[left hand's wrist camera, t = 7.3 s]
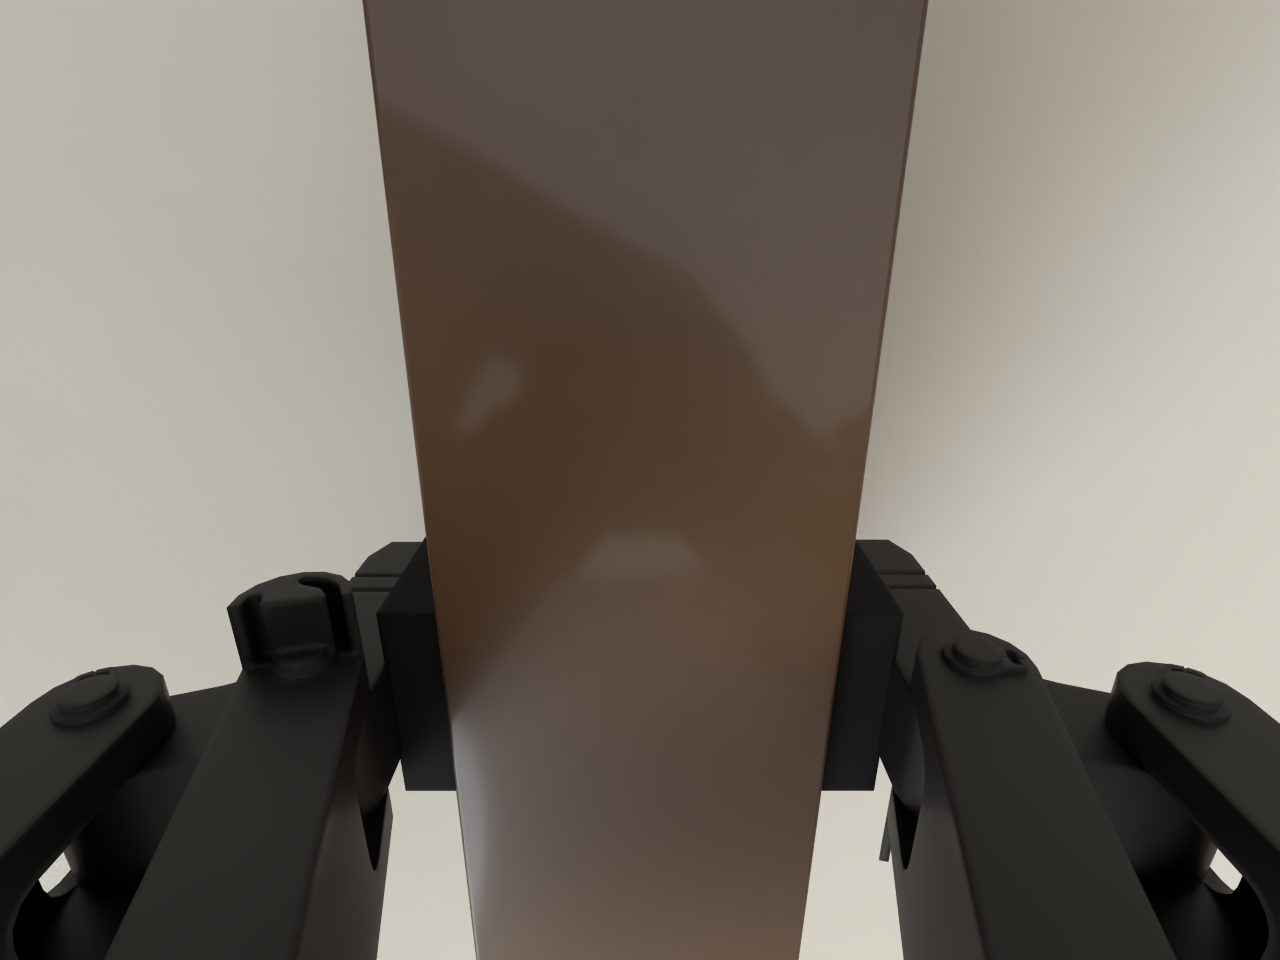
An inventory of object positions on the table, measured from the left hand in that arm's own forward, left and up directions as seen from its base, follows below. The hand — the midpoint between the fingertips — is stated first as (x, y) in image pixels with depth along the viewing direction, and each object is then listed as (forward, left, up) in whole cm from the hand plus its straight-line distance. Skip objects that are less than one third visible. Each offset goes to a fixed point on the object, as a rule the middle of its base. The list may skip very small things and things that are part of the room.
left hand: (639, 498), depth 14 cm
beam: (-12, +14, -1) cm, 18 cm away
